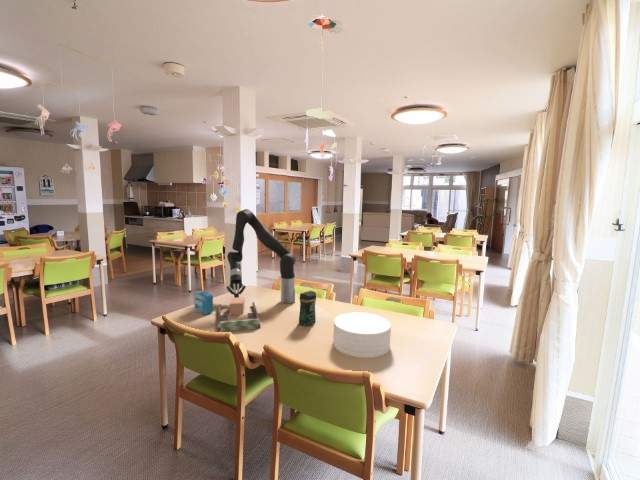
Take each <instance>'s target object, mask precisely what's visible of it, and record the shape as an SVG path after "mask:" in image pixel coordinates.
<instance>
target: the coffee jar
mask: <svg viewBox="0 0 640 480" xmlns="http://www.w3.org/2000/svg"><path fill="white" fill-rule="evenodd" d="M316 300H317V293H316V292H315V291H313V290H309V291H305V292H301V293H300V294H299V303H300V304H299V305H300V306H299V315H298V316H299V317H298V323H299V324H300V325H301V326H311V325H313V324H315V323H316V321H317V320H316Z"/></svg>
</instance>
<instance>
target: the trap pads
mask: <svg viewBox="0 0 640 480" xmlns="http://www.w3.org/2000/svg"><path fill="white" fill-rule="evenodd" d="M228 317H229V316H228V314H221V321H229V320H228V319H229V318H228ZM247 317H248V319H256V317H255V313H254V312H247Z"/></svg>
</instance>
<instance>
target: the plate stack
mask: <svg viewBox="0 0 640 480" xmlns="http://www.w3.org/2000/svg"><path fill="white" fill-rule="evenodd" d="M391 331H392V324H391V322H390V320H388V319H387V318H385V317H383V316H381V315H378V314H374V313H369V312H363V311H362V312H359V311H358V312H355V311H354V312H346V313H341V314H339V315H337V316H336V317H335V318H334V319H333V340H332V344H333V346H334V348H335V350H337V351H338V352H340V353H342V354H344V355H346V356H347V355H348V356H351V357H355V358H363V359H366V358H367V359H369V358H370V359H371V358H377V357H381V356H383V355H385V353H386V354H387V353H388V352H389V351H390V347H391V333H392V332H391Z"/></svg>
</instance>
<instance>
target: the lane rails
mask: <svg viewBox="0 0 640 480" xmlns="http://www.w3.org/2000/svg"><path fill="white" fill-rule="evenodd" d="M251 304H252V309H253V313H255V317H256V318H248V319H241V320H239V319H237V320H224V321H222V320H221V315H222V314H221V313H222V311H221V310H222V304H221V303H219V305H218V326H217V327H218V328H217V329H218V330H217V331H223V332H231V331H232V330H234V331H242V330H251V329H252V330H253V329H255V330H256V329H260V328H261V322H260V318H259V315H258V311H257V307H256V303H255V301H252V303H251ZM229 330H230V331H229Z"/></svg>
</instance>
